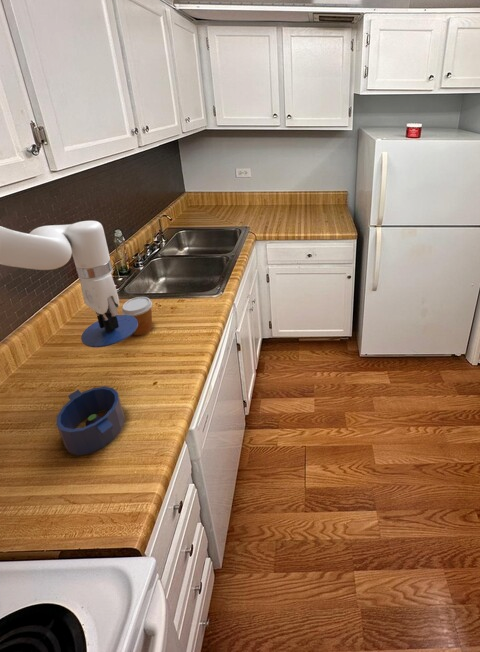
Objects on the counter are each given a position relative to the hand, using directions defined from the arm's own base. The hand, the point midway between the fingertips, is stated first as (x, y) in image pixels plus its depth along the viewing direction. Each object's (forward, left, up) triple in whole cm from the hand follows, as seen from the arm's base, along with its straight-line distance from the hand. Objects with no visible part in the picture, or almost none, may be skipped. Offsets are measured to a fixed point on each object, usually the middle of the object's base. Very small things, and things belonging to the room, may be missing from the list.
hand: (109, 327), depth 92 cm
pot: (-12, -11, -19) cm, 26 cm away
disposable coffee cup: (+16, +17, -20) cm, 30 cm away
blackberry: (-12, -11, -19) cm, 25 cm away
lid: (0, 0, -1) cm, 1 cm away
